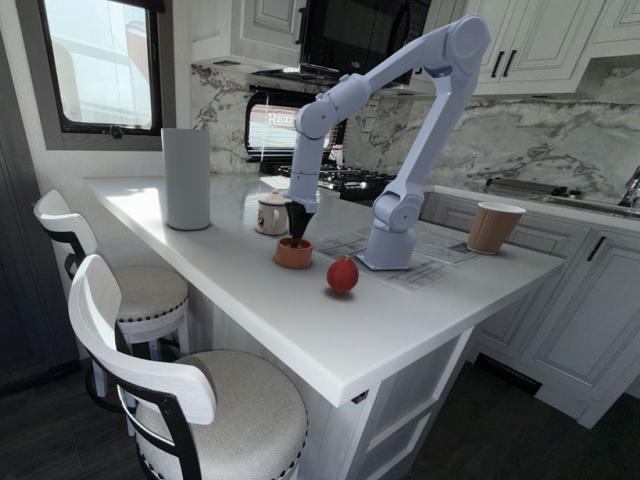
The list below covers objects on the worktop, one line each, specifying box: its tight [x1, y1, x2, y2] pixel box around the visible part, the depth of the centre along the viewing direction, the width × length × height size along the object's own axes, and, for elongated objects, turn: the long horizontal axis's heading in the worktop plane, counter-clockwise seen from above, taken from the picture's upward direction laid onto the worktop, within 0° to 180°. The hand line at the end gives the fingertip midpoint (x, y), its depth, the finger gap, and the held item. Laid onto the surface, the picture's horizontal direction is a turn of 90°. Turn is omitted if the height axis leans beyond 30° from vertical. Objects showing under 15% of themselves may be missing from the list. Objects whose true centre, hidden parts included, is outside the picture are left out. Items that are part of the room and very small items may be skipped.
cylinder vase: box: [160, 127, 211, 231], centre depth 86 cm, size 12×12×25 cm
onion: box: [326, 254, 360, 295], centre depth 58 cm, size 6×6×8 cm
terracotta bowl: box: [274, 236, 314, 269], centre depth 71 cm, size 8×8×4 cm
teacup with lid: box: [256, 188, 291, 236], centre depth 87 cm, size 12×9×12 cm
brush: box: [285, 238, 303, 249], centre depth 70 cm, size 4×2×8 cm, turn 98°
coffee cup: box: [466, 201, 527, 255], centre depth 83 cm, size 10×10×12 cm
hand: (295, 236), depth 69 cm, fingers closed on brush, 1 cm apart
